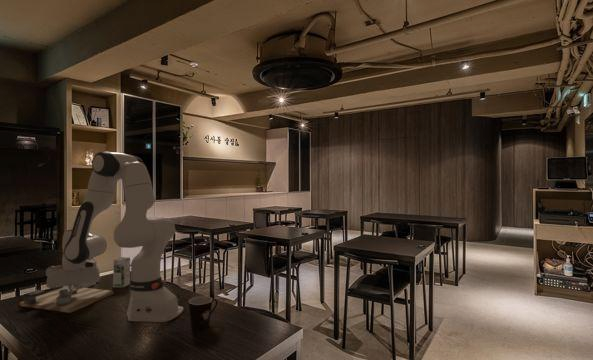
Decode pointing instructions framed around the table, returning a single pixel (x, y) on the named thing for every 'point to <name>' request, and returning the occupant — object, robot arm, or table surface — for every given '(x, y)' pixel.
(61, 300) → the link
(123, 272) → the syrup box
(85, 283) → the charger
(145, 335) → the table surface
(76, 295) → the pintle plate
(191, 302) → the coffee mug
